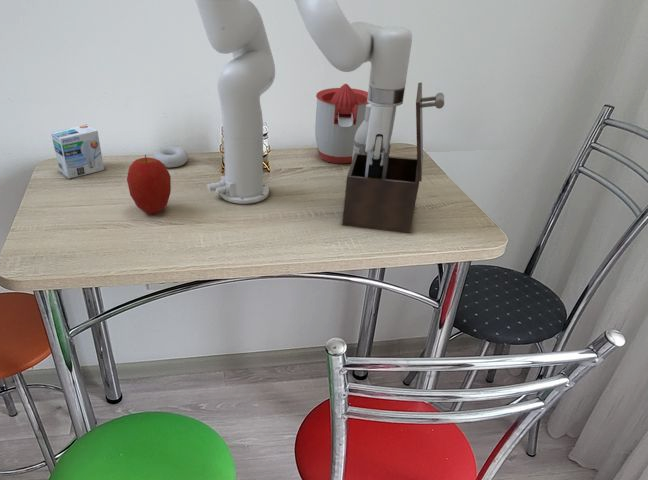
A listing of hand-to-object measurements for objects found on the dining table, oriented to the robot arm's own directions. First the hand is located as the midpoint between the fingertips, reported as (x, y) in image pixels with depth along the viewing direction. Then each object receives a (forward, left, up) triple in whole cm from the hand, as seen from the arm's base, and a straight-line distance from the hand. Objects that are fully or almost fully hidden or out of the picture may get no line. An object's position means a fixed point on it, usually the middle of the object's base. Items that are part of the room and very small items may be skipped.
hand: (375, 177), depth 130 cm
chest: (+1, -1, -9) cm, 10 cm away
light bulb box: (-57, +57, -10) cm, 81 cm away
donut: (-33, +52, -10) cm, 62 cm away
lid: (+6, -5, +11) cm, 13 cm away
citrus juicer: (+12, +34, -10) cm, 37 cm away
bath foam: (+8, +16, -10) cm, 20 cm away
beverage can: (0, 0, -4) cm, 4 cm away
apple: (-47, +25, -10) cm, 54 cm away
